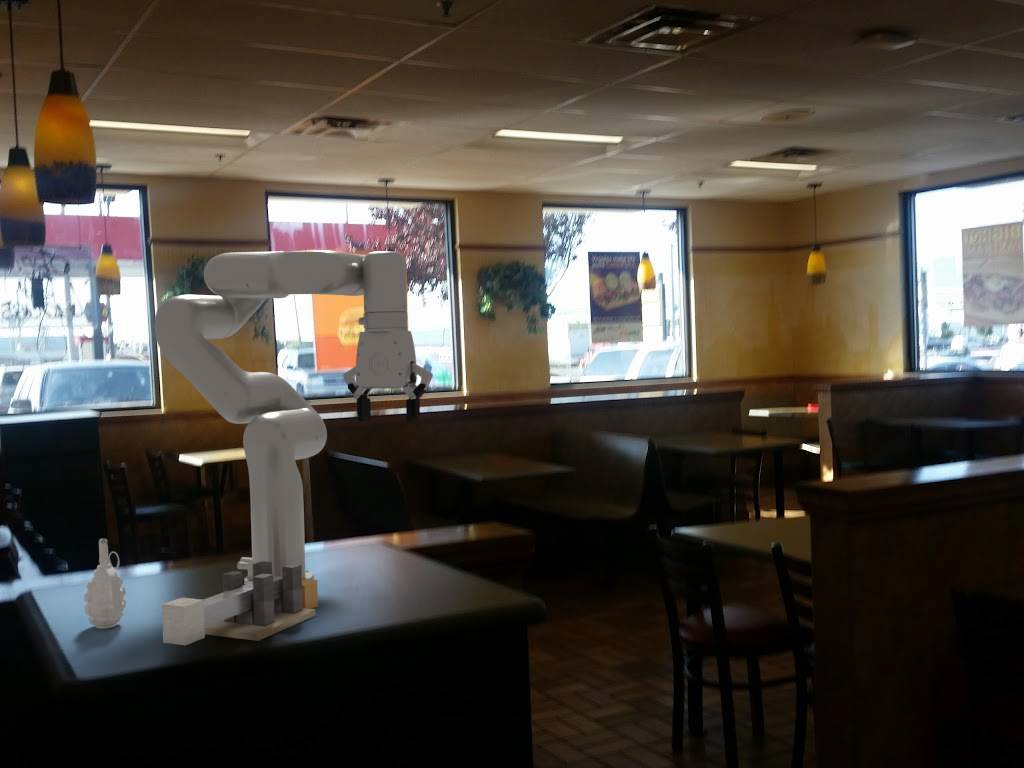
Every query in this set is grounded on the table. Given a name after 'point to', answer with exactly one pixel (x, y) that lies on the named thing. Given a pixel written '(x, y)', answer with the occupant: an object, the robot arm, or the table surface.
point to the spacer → (309, 593)
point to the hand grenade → (105, 592)
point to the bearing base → (258, 630)
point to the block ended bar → (207, 612)
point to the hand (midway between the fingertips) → (388, 421)
